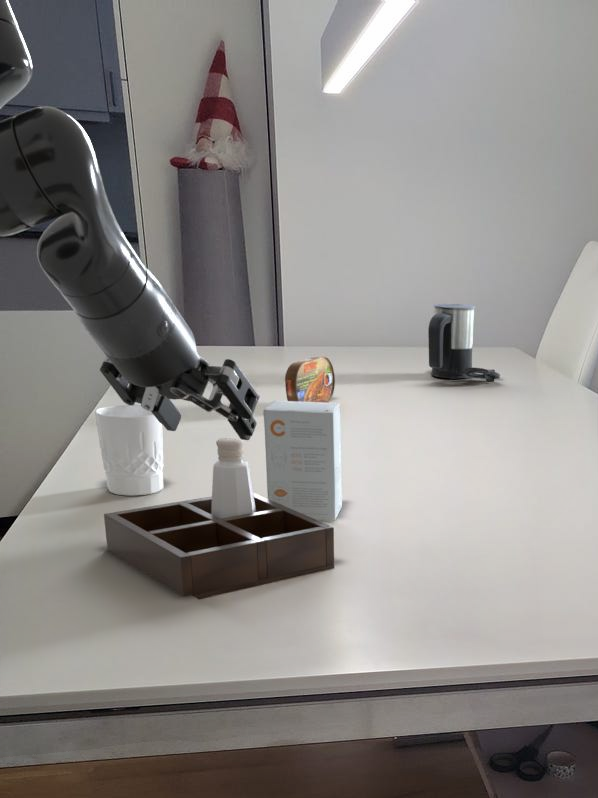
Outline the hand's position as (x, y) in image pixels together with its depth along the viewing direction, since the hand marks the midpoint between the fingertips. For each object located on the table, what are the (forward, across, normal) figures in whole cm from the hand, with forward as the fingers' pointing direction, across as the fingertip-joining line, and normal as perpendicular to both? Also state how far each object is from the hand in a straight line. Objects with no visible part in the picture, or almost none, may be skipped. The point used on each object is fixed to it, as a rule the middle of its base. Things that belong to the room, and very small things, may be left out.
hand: (211, 428), depth 105 cm
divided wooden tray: (+8, -2, +11) cm, 14 cm away
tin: (+66, +29, -46) cm, 85 cm away
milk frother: (+97, +14, -78) cm, 125 cm away
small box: (+22, -2, -3) cm, 22 cm away
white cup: (+22, +23, -3) cm, 32 cm away
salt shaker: (+11, 0, +7) cm, 13 cm away
